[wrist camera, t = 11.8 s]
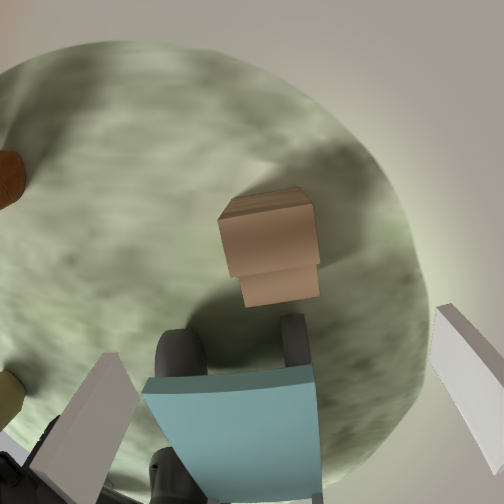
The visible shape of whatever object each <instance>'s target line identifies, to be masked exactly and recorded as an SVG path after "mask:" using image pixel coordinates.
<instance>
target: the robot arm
mask: <svg viewBox="0 0 504 504" xmlns="http://www.w3.org/2000/svg"><path fill="white" fill-rule="evenodd" d="M429 362H430V364H431V365H432V367H433V368H434V370H435V371H436V373H437V375H438V376H439V378H440V379H441V381H442V382H443V384H444V386H445V388H446V389H447V391H448V393H449V394H450V396H451V398H452V399H453V401H454V403H455V404H456V406H457V408H458V409H459V411H460V413H461V415H462V416H463V418H464V420H465V422H466V423H467V425H468V427H469V429H470V430H471V432H472V434H473V436H474V438H475V440H476V441H477V443H478V445H479V447H480V449H481V451H482V453H483V455H484V457H485V459H486V461H487V462H488V464H489V467H490V469H491V471H492V473H493V475H494V476H495V475H496V474H498V473H500V472H502V471H504V359H503V357H502V356H501V355H500V354H499V353H498V352H497V351H496V350H495V348H494V347H493V346H492V345H491V344H490V343H489V342H488V341H487V340H486V339H485V338H484V337H483V335H482V334H481V333H479V331H478V330H477V329H476V328H475V327H474V326H473V325H472V324H471V323H470V322H469V321H468V320H467V319H466V318H465V317H464V316H463V315H462V314H461V313H460V312H459V311H458V310H457V309H456V308H455V307H454V306H453V305H452V304H451V303H450V304H446V305H443V306H439V307H436V311H435V319H434V329H433V335H432V342H431V349H430V355H429ZM139 401H140V397H139V395H138V393H137V391H136V390H135V388H134V386H133V384H132V382H131V380H130V378H129V376H128V374H127V372H126V370H125V368H124V366H123V364H122V361H121V359H120V357H119V355H118V353H103V354H102V355H101V357H100V358H99V360H98V361H97V362H96V364H95V365H94V367H93V368H92V370H91V371H90V373H89V374H88V375H87V377H86V378H85V380H84V381H83V383H82V384H81V386H80V387H79V389H78V390H77V392H76V393H75V395H74V396H73V398H72V399H71V401H70V402H69V404H68V405H67V407H66V408H65V410H64V411H63V413H62V414H61V415H58V416H57V417H56V418H55V419H53V420H52V421H51V422H50V423H49V425H48V426H47V428H46V429H45V431H44V434H42V435H41V437H40V441H38V442H37V443H36V445H35V447H34V448H33V450H32V451H31V453H30V455H29V456H28V458H27V460H26V461H25V463H24V465H23V466H22V467H21V466H20V465H19V464H18V463H17V462H16V461H15V460H14V459H13V458H12V457H11V456H10V455H9V454H8V453H7V452H4V451H1V452H0V504H143V503H141V502H139V501H136V500H134V499H132V498H130V497H128V496H125V495H123V494H121V493H119V492H117V491H115V490H113V489H111V488H109V487H107V486H105V485H103V484H104V481H105V479H106V476H107V474H108V472H109V469H110V467H111V464H112V462H113V460H114V457H115V455H116V453H117V450H118V448H119V446H120V443H121V441H122V439H123V437H124V434H125V432H126V430H127V427H128V425H129V423H130V421H131V418H132V416H133V414H134V412H135V410H136V407H137V405H138V403H139ZM149 476H150V487H151V500H150V503H149V504H207V502H208V498H207V496H206V495H205V494H204V492H203V491H202V490H201V488H200V487H199V486H198V484H197V483H196V481H195V480H194V479H193V477H192V476H191V474H190V473H189V472H188V470H187V469H186V467H185V466H184V464H183V463H182V461H181V460H180V458H179V457H178V455H177V454H176V452H175V450H174V449H173V448H165V449H161V450H159V451H157V452H156V453H154V455H153V456H152V459H151V462H150V465H149ZM221 504H231V503H221Z"/></svg>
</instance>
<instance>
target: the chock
mask: <svg viewBox="0 0 504 504" xmlns="http://www.w3.org/2000/svg"><path fill="white" fill-rule="evenodd" d="M217 221H218V225H219V230H220V234H221V239H222V243H223V247H224V252H225V256H226V260H227V265H228V269H229V273H230V277H231V278H234V277H239V281H240V286H241V290H242V294H243V299H244V303H245V308H247V307H254V306H261V305H268V304H274V303H281V302H287V301H294V300H300V299H306V298H312V297H318V296H320V293H319V284H318V275H317V267H316V264H320V256H319V248H318V240H317V233H316V225H315V218H314V211H313V205H312V203H311V201H310V200H309V199H308V197H307V196H306V195H305V193H304V192H303V191H302V189H301V188H300V187H298V188H292V189H286V190H280V191H274V192H268V193H263V194H257V195H251V196H246V197H240V198H235V199H231V201H230V202H229V204H228V205H227V207H226V208H225V210H224V211H223V213H222V214H221V215H220V217H219V218H218V220H217Z"/></svg>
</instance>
